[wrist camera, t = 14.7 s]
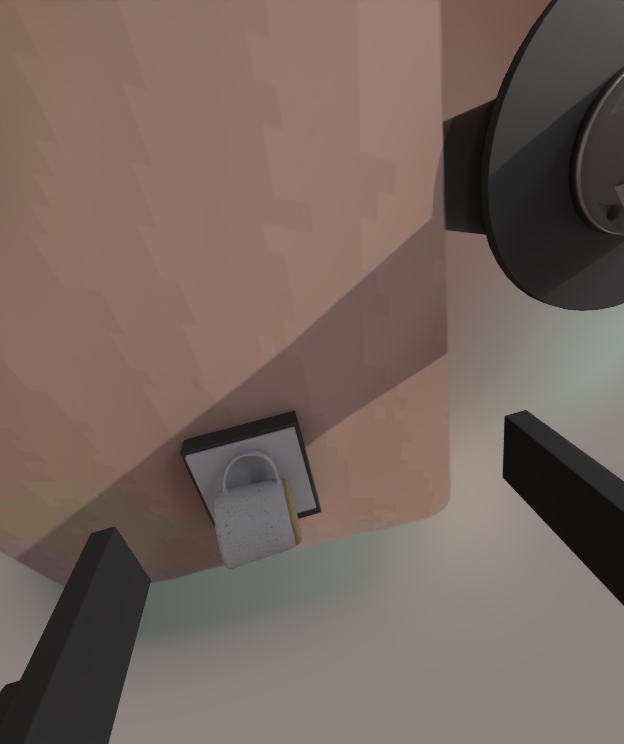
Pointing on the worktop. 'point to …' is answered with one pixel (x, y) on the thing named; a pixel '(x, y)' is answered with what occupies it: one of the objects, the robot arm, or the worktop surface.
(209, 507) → the kitchen scale
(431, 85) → the worktop surface
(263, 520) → the ceramic mug
